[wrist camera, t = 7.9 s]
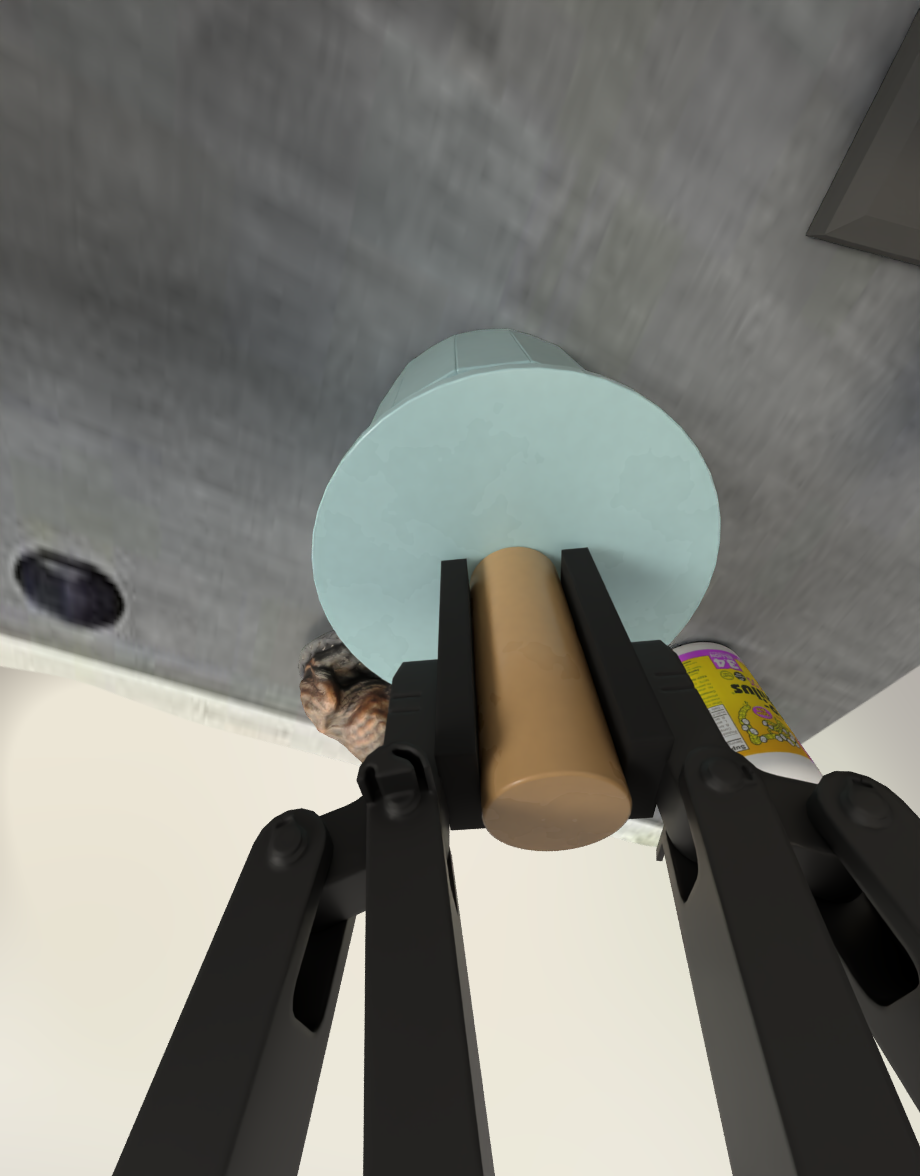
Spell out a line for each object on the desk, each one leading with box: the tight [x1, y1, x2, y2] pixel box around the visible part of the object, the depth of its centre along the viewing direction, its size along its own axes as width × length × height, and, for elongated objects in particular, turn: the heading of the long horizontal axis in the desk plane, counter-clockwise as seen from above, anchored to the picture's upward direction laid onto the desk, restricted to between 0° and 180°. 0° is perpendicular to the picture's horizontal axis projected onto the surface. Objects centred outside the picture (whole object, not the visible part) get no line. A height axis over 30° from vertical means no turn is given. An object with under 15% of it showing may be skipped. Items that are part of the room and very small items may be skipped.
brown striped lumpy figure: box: [298, 630, 392, 763], centre depth 27 cm, size 12×7×10 cm, turn 73°
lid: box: [311, 363, 721, 851], centre depth 12 cm, size 13×13×9 cm
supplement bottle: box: [672, 642, 823, 784], centre depth 27 cm, size 7×7×13 cm
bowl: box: [370, 329, 586, 426], centre depth 20 cm, size 11×11×8 cm
